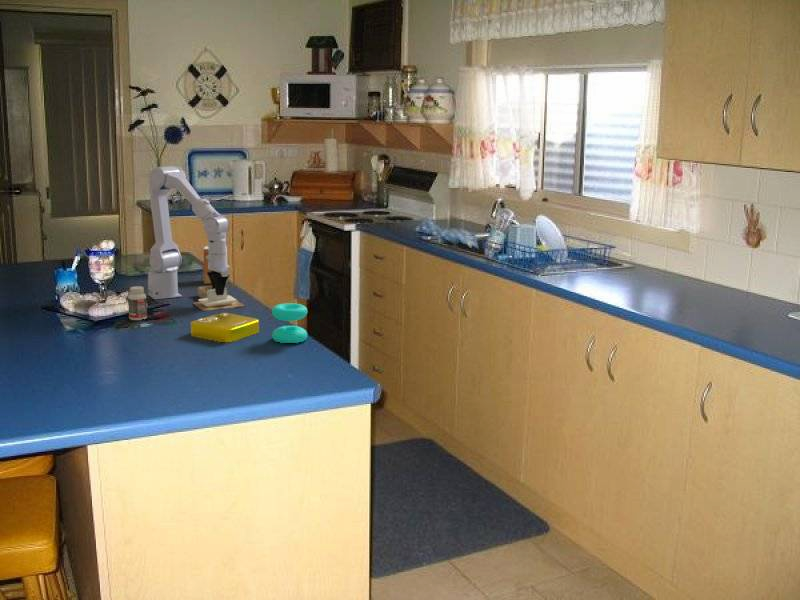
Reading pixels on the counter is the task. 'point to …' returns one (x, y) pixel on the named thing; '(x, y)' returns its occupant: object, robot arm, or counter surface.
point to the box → (203, 291)
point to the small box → (206, 261)
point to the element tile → (224, 327)
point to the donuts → (289, 314)
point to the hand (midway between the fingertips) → (218, 294)
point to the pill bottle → (137, 303)
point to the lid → (217, 299)
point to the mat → (205, 308)
